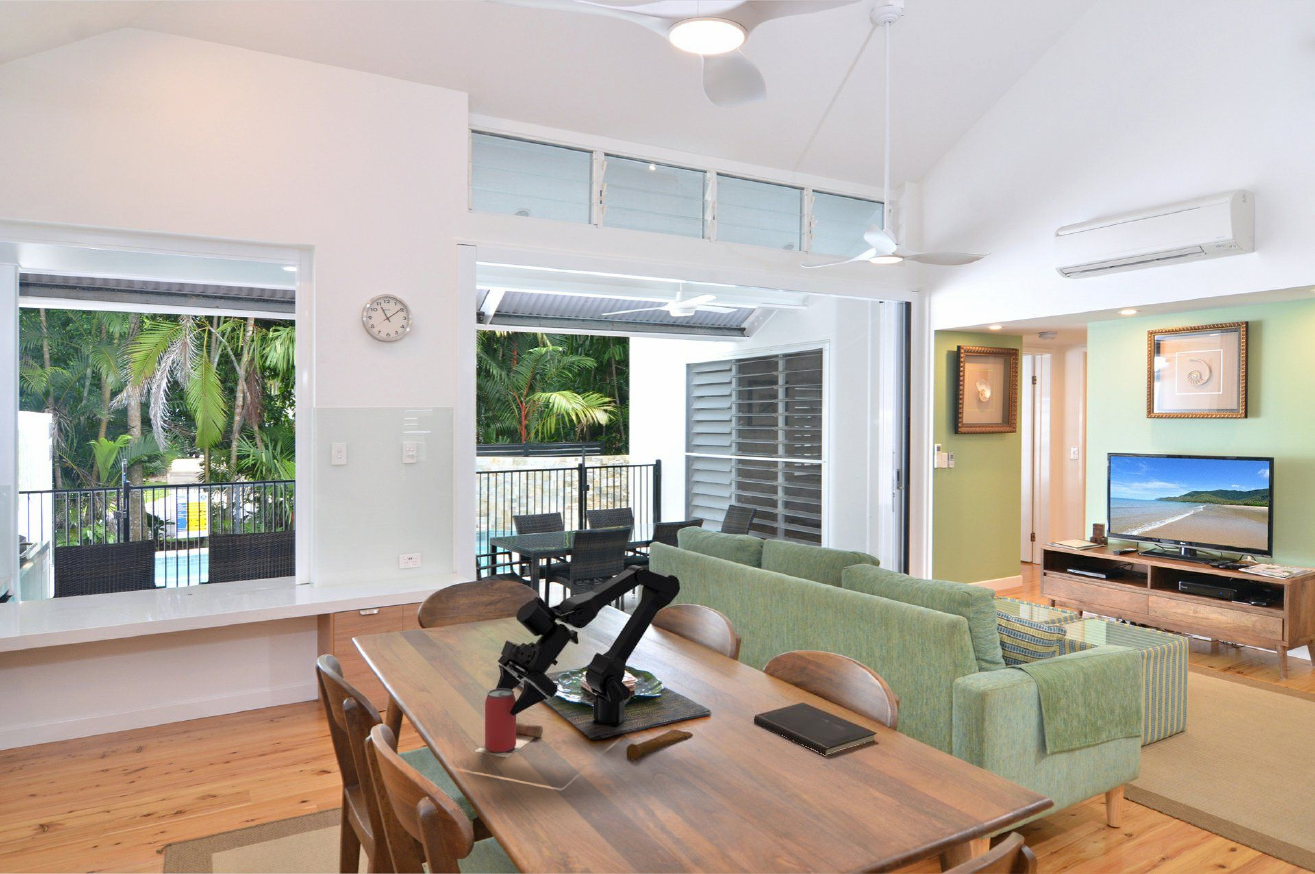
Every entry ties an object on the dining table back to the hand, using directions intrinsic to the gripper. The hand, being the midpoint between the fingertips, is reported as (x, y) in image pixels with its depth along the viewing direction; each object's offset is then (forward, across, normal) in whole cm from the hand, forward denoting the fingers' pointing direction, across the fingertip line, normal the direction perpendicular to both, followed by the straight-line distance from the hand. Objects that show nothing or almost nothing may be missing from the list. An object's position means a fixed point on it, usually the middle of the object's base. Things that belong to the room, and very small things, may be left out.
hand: (502, 708), depth 175 cm
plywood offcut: (+4, -2, +8) cm, 10 cm away
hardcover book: (-37, +30, +52) cm, 71 cm away
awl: (+2, -5, +10) cm, 12 cm away
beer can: (+6, 0, +6) cm, 9 cm away
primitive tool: (-14, +17, +28) cm, 35 cm away
